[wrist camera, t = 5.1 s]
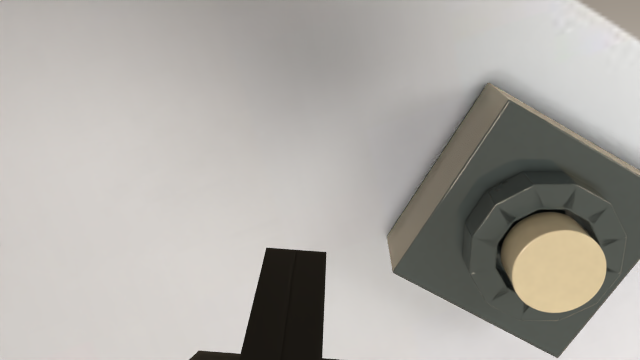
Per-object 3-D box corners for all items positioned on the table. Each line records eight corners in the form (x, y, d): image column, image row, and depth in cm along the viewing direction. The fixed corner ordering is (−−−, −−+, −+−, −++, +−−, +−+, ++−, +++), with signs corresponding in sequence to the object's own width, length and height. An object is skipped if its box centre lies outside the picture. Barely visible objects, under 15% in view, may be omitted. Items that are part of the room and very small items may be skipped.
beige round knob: (483, 265, 29) (493, 288, 27) (534, 196, 27) (548, 214, 25) (554, 303, 29) (569, 327, 27) (606, 237, 28) (626, 257, 26)
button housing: (386, 237, 34) (395, 291, 29) (487, 81, 31) (520, 108, 26) (534, 315, 36) (570, 381, 30) (645, 173, 33) (709, 218, 27)
